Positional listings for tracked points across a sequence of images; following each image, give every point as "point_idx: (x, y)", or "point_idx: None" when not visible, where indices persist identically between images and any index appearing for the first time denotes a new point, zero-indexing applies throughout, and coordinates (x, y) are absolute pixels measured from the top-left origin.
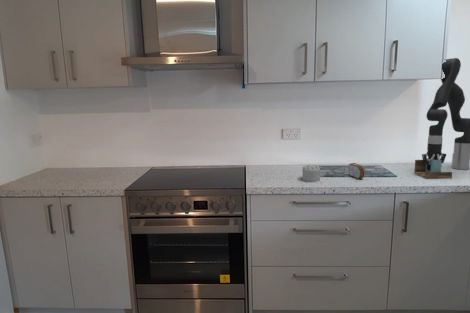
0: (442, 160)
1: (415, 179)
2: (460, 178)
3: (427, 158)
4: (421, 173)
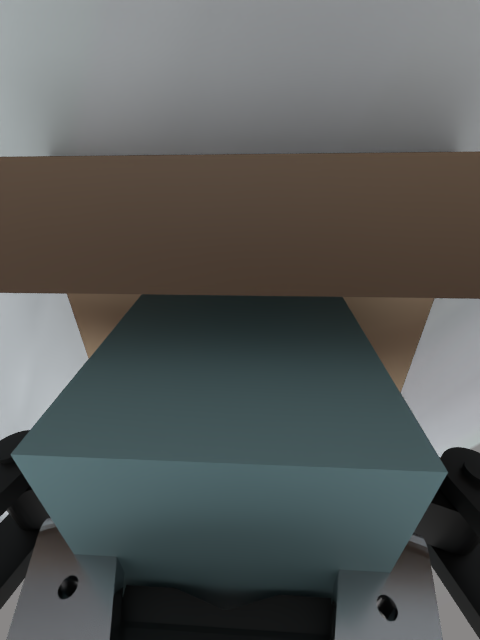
0: (460, 600)
1: (22, 408)
2: (445, 432)
3: (56, 504)
4: (101, 308)
